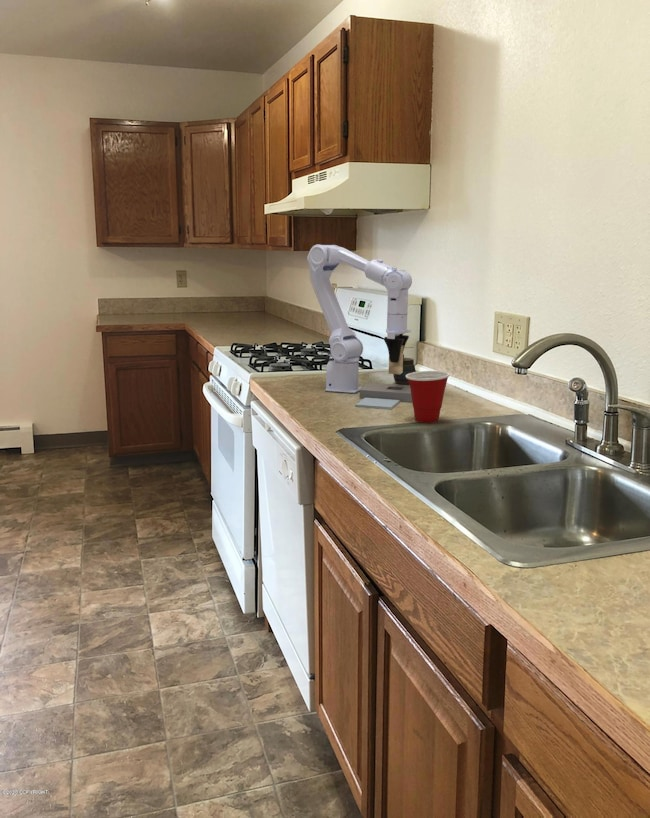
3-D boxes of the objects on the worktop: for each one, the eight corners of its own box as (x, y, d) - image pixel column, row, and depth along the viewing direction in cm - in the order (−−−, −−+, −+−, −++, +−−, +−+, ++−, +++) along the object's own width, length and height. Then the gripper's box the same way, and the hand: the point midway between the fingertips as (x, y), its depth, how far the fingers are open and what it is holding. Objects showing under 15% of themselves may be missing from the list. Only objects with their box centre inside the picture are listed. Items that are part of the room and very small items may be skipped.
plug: (388, 373, 205) (389, 346, 203) (391, 371, 208) (392, 344, 206) (400, 374, 204) (400, 346, 202) (402, 372, 207) (403, 345, 205)
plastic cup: (399, 415, 184) (401, 369, 181) (440, 414, 185) (442, 369, 182) (409, 425, 173) (411, 377, 171) (452, 424, 175) (455, 376, 172)
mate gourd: (415, 381, 232) (416, 351, 230) (416, 385, 224) (417, 354, 222) (393, 381, 233) (394, 350, 230) (393, 385, 225) (394, 353, 223)
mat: (355, 406, 194) (355, 404, 194) (365, 399, 203) (365, 397, 203) (391, 409, 191) (391, 407, 191) (399, 402, 200) (399, 400, 200)
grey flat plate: (359, 398, 205) (359, 389, 204) (370, 390, 216) (370, 382, 215) (421, 403, 199) (421, 394, 199) (429, 395, 210) (429, 386, 210)
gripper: (405, 316, 194) (404, 365, 197) (416, 312, 208) (414, 358, 211) (380, 315, 196) (379, 364, 199) (392, 311, 210) (391, 357, 213)
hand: (395, 361), depth 205 cm, fingers closed on plug, 3 cm apart
